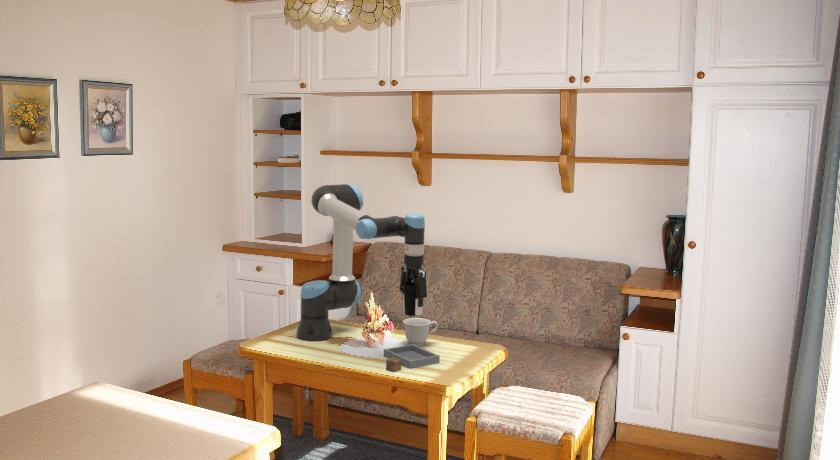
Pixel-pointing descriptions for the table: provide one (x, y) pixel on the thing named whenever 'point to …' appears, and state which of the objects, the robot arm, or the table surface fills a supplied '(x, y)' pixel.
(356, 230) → the robot arm
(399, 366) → the walnut block
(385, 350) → the tray
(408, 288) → the cup
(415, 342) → the teacup
